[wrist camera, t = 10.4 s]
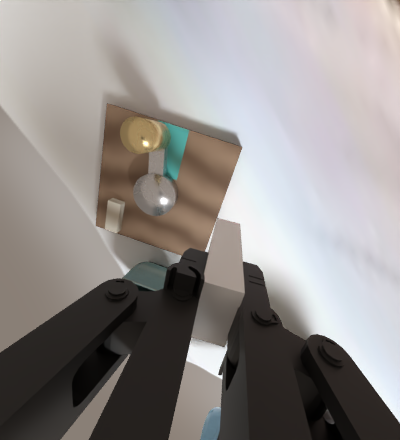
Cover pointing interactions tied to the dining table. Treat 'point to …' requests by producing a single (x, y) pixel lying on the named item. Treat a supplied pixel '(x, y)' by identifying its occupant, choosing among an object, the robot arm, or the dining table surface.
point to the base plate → (183, 177)
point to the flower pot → (147, 276)
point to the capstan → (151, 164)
